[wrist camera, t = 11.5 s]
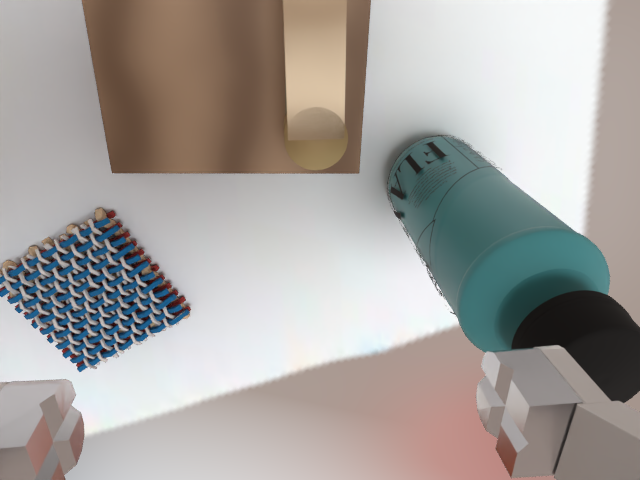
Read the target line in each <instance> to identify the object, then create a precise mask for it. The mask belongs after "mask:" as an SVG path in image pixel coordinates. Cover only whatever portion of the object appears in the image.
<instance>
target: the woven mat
mask: <svg viewBox="0 0 640 480" xmlns="http://www.w3.org/2000/svg"><path fill="white" fill-rule="evenodd" d="M115 215H116V214H115V213H114V212H113V211H112V212H109V213H107V214H106V212H105V211H104V210H103V209H102V208H99V209H96V210H95V217H96V221H94V222H93V221H92V219H89V220H87V221H85V222H84V224H85V225H84V224H81V225H80V227H81V228H83V229H80V228H79V227H78V226H76V225H73V224H71V225H69V226H68V227H67V233H69V234H71V235H70V236H67V235H65V234H63V235H61V236H59V237H60V242H58V240H57V239H56V238H55V239H54V242H53V241H52V240H51V239H50V238H49V237H48V238H46V239H44V240H43V241H42V243H43V244H44V246H43V247H44V248H45V250H42V251H39V248H38V247H37V246H33V247H29V249H28V252H29V254H28V255H26V256H24V257H22V258H21V259H20V260H21V261H22V263H21V264H19V265H17V264H16V263H15V262H13V261H8V260H7V261H6V262H4V263H3V268H2V269H1V270H0V284H3V285H4V287H2V288H1V289H0V296H1V297H3V296H4V295H6V294H7V293H9V296H8V299H9V300H7V301H8V302H9V303H10V304H13V303H16V302H18V303H19V304H18V305H17V306H15V307H16V308H15V310H16V311H17V312H18V313H20V312H21V311H23V310H24V311H26V312H25V313H23V314H25V316H24V317H25V318H26V319H27V320H28V319H32V318H34V320H32V324H31V325H32V326H33V327H34V328H35V329H36V328H37V327H38V326H40V327H41V328H40V329H39V330H40V332H41V333H42V334H43V335H44V334H49V333H50V334H49V335H48V336H47V337H48V339H47V340H48V341H49V342H50V343H52V342H53V341H54V342H58V344H57V345H56V346H55V347H56V348H58V349H63V348H65V349H63V350H62V352H63V356H64V357H65V358H67V357H69V356H70V357H71V358H72V359H71V360H70V361H71V362H72V363H77V365H76V366H77V370H78V371H79V372H81V371H82V370H84V369H85V368H87V367H90V368H94V369H97V367H96V366H93V365H95V364H97V365H99V364H100V362H99V361H104V362H105V363H106V361H107V359H106V357H111V356H113V357H115V358H117V357H119V355H118V354H117V352H120V353H121V354H123V353H124V351H123V350H125V349H127V348H128V350H129V349H130V348H131V347H130V345H132V344H133V343H134V344H136V345H138V344H142V343H140V341H143V340H145V341H146V340H147V337H148V336H152V337H153V336H155V335H153V334H152V333H157V332H160V331H165V330H166V329H165V327H170V328H171V327H172V326H171V325H174V324H176V325H178V324H179V321H180V320H181V319H186V318H188V317H189V316H190V314H189V313H190V312H189V311H190V310H191V309H190V307H189V306H187V307H185V305H184V304H183V302H184V301H185V298H184V297H181V298H180V299H179V298H178V297H177V295H178V292H177V291H176V290H174V291H172V289H171V287H172V285H171V284H170V283H166V282H165V281H164V279H165V277H164V276H163V275H159V274H158V273H157V272H155V271H158V269H159V267H158V266H157V265H153V266H150V263H151V260H150V259H149V258H147V259H146V258H145V257H144V255H143V254H144V251H143V250H142V249H140V250H139V249H138V248H137V247H136V246H137V243H136V241H135V240H134V241H131V240H130V239H129V236H130V234H129V233H128V231H127V232H125V233H124V231H123V230H122V229H121V227H122V225H121V223H120V222H118V223H116V222H115V221H114V220H112V219H110V218H114V217H115ZM102 226H104V227H106V228H107V229H106V230H104V231H101V230H100V229H99V228H100V227H102ZM113 234H114V235H115V236H116V237H115V238H112V239H109V240H108V237H110V236H111V235H113ZM88 235H89V236H90V239H89V238H88ZM77 240H79V241H80V242H81V243H79V244H76V245H74V242H76V241H77ZM121 244H123V245H124V246H123V247H121V248H119V249H117V248H116V246H118V245H121ZM96 246H97V247H96ZM83 251H87V253H86V254H84V253H83ZM128 252H130V254H131V255H129V256H127V257H124V255H125V254H127V253H128ZM104 254H106V256H105V255H104ZM51 255H52V256H53V257H54V259H52V260H51V259H50V258H49V256H51ZM91 260H93V261H94V263H92V262H91ZM115 260H116V261H115ZM135 262H138V263H137V264H135V265H134V266H131V264H132V263H135ZM59 264H60V265H61V266H62V267H61V268H59V267H58V265H59ZM81 265H83V266H84V268H83V267H81ZM25 269H28V270H29V273H26V272H25V271H24V270H25ZM98 269H102V270H101V271H99V270H98ZM7 270H9V271H7ZM47 271H51V273H49V272H47ZM140 271H141V272H140ZM139 272H140V273H139ZM138 273H139V274H138ZM90 274H91V275H92V276H90ZM16 275H17V276H18V277H19V278H18V279H14V278H12V276H16ZM66 275H67V276H68V277H67V276H66ZM106 278H107V279H106ZM33 279H34V280H35V281H34V280H33ZM38 279H39V280H38ZM57 279H58V280H59V281H57ZM147 280H150V281H148V282H145V281H147ZM52 282H54V283H52ZM96 282H98V283H99V284H95V283H96ZM23 284H26V285H27V286H25V287H24V286H23ZM113 286H117V287H116V288H114V287H113ZM156 286H158V288H155V287H156ZM65 288H67V290H66V289H65ZM133 288H135V289H133ZM154 288H155V289H154ZM105 290H106V292H105ZM82 292H83V293H82ZM31 293H35V295H33V296H31V295H29V294H31ZM73 296H74V298H73ZM162 296H163V297H162ZM92 297H94V298H92ZM159 297H161V298H159ZM41 300H42V301H43V303H41V304H40V302H39V301H41ZM60 301H61V302H62V303H63V304H62V303H60ZM131 301H132V302H131ZM128 302H130V303H128ZM170 302H172V303H171V304H169V303H170ZM168 304H169V305H168ZM55 305H56V306H55ZM27 307H30V308H31V309H29V308H27ZM138 308H140V309H138ZM136 309H138V310H136ZM135 310H136V311H135ZM65 312H66V313H65ZM107 312H108V313H109V314H107ZM174 312H175V313H174ZM171 313H172V314H171ZM124 315H127V316H124ZM75 317H77V318H78V319H76V318H75ZM95 320H96V321H95ZM44 323H46V324H44ZM60 325H65V326H64V327H62V326H60ZM81 327H83V328H81ZM53 330H54V331H53ZM71 332H73V333H71ZM76 340H79V341H76ZM86 346H87V347H86ZM71 354H72V355H71Z"/></svg>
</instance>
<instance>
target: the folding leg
mask: <svg viewBox="0 0 640 480" xmlns="http://www.w3.org/2000/svg"><path fill="white" fill-rule="evenodd" d="M282 1H283V28H284V55H285V83H286V110H287V113H286V116H285V119H284V142H285V148H286V150H287V153H288V155H289V156H290V158H291V159H292V160H293V161H294V162H295V163H296V164H297V165H299V166H301V167H303V168H305V169H309V170H322V169H326V168H329V167H331V166H333V165H334V164H335V163H337V162H338V161H339V160H340V159H341V157H342V156H343V154H344V153H345V151H346V148H347V144H348V133H347V129H346V126H345V73H346V17H347V0H282Z"/></svg>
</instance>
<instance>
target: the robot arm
mask: <svg viewBox="0 0 640 480" xmlns="http://www.w3.org/2000/svg"><path fill="white" fill-rule="evenodd" d="M481 367H482V369H483V371H484V372H485V374H486V376H485V377H484V378H483V379H482V380H481V381H480V382H479V383H478V387H477V394H476V401H477V409H478V413H479V416H480V419H481V422H482V423H483V426H484V428H485V430H486V431H487V432H489V433H490V434H492V435H493V436H495V437H496V438H497V439H498V440H497V445H496V451H497V453H498V454H499V456H500V458H501V460H502V462H503V464H504V466H505V468H506V469H507V471H508V473H509V475H510V477H511V478H518V477H519V478H520V477H536V476H549V475H555V476H554V478H555V479H556V480H640V411H638V410H636V409H634V408H632V407H630V406H628V405H626V404H624V403H622V402H620V401H611V400H610V399H609V398H608V397H607V396H606V395H605V394H604V392H603V391H602V390H601V389H600V388H599V387H598V386H597V385H596V383H595V382H594V381H593V380H592V379H591V378H590V377H589V376H588V375H587V373H586V372H585V371H584V370H583V369H582V368H581V367H580V366H579V364H578V363H577V362H576V361H575V360H574V359H573V358H572V357H571V355H570V354H569V353H568V352H567V351H566V350H565V349H564V348H563V347H561V346H559V345H553V346H542V347H534V348H523V349H510V350H496V351H487V352H486V354H485V355H484V357H483V361H482V365H481ZM75 396H76V394H75V391H74V388H73V385H72V382H71V381H69V380H66V379H58V380H35V381H13V382H1V383H0V480H65V477H64V475H65V474H66V473H67V472H68V471H70V470H71V469H72V468H73V467H74V466H75V465H76V464H77V462H78V459H79V457H80V454H81V451H82V447H83V440H84V422H83V419H82V415H81V412H79V411H78V410H77V409H75V408H74V407H73V406H71V404H72V402H73V400H74V398H75Z"/></svg>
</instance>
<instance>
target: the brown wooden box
mask: <svg viewBox="0 0 640 480" xmlns="http://www.w3.org/2000/svg"><path fill="white" fill-rule="evenodd" d="M82 4H83V10H84V15H85V21H86V27H87V33H88V38H89V44H90V50H91V56H92V61H93V67H94V73H95V79H96V84H97V90H98V96H99V102H100V107H101V113H102V119H103V125H104V130H105V136H106V142H107V148H108V153H109V159H110V165H111V171H112V173H359V167H360V152H361V138H362V123H363V108H364V93H365V78H366V64H367V49H368V34H369V19H370V4H371V0H347V17H346V73H345V126H346V129H347V133H348V144H347V148H346V151H345V153H344V154H343V156H342V157H341V159H340V160H339V161H338V162H337V163H335V164H334V165H333V166H331V167H329V168H326V169H322V170H309V169H305V168H303V167H301V166H299V165H297V164H296V163H295V162H294V161H293V160H292V159H291V158H290V156H289V155H288V153H287V150H286V148H285V142H284V119H285V116H286V113H287V110H286V83H285V55H284V28H283V1H282V0H82Z"/></svg>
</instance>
